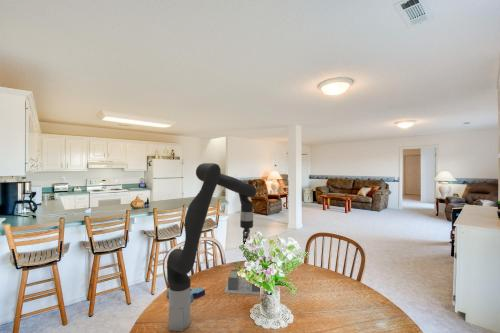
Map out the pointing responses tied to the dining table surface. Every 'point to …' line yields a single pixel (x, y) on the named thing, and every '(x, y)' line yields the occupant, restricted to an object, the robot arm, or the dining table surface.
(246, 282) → the module
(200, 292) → the pistol
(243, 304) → the dining table surface
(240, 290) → the rail board
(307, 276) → the dining table surface
